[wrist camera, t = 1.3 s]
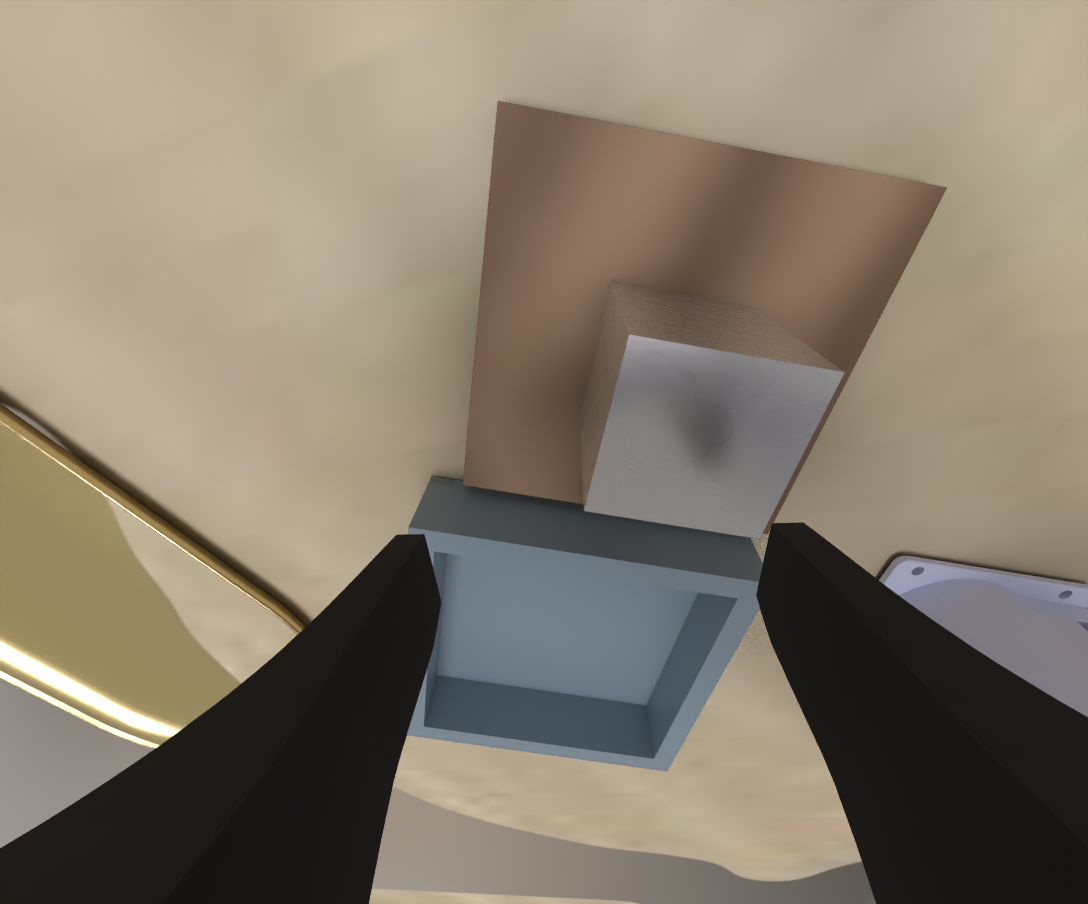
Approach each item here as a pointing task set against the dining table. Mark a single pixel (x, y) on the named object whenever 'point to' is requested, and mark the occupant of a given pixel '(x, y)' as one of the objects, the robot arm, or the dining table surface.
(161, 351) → the dining table surface
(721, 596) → the bin
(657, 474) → the metal block
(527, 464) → the stud base
